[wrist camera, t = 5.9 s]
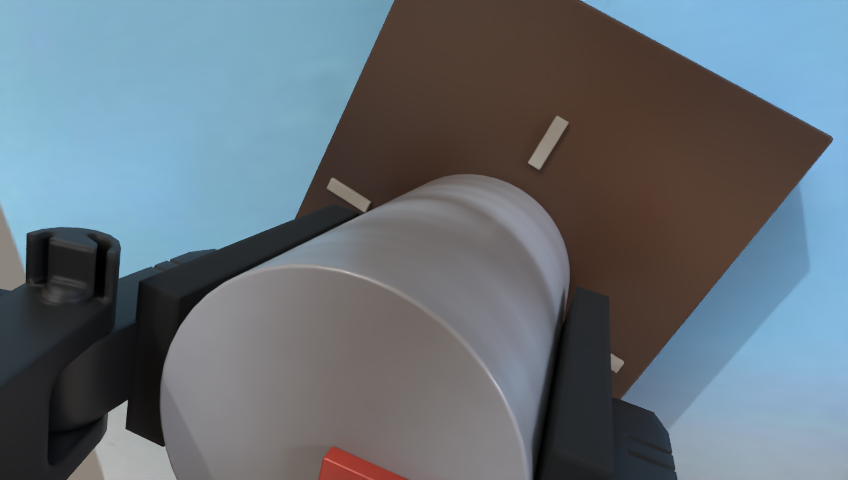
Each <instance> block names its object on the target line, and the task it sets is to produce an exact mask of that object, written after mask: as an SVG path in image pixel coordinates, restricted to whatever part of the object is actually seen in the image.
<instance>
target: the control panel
mask: <svg viewBox="0 0 848 480" xmlns="http://www.w3.org/2000/svg"><path fill="white" fill-rule="evenodd" d="M832 141H833V138H832V137H831V136H830V135H828V134H826V133H824V132H823V131H821V130H819V129H817V128H815V127H813V126H811V125H810V124H808V123H806V122H804V121H802V120H800V119H799V118H797V117H795V116H793V115H791V114H789V113H787V112H786V111H784V110H782V109H780V108H778V107H776V106H775V105H773V104H771V103H769V102H767V101H765V100H763V99H762V98H760V97H758V96H756V95H754V94H752V93H751V92H749V91H747V90H745V89H743V88H741V87H739V86H738V85H736V84H734V83H732V82H730V81H728V80H727V79H725V78H723V77H721V76H719V75H717V74H715V73H714V72H712V71H710V70H708V69H706V68H704V67H703V66H701V65H699V64H697V63H695V62H693V61H692V60H690V59H688V58H686V57H684V56H682V55H680V54H679V53H677V52H675V51H673V50H671V49H669V48H668V47H666V46H664V45H662V44H660V43H658V42H656V41H655V40H653V39H651V38H649V37H647V36H645V35H644V34H642V33H640V32H638V31H636V30H634V29H632V28H631V27H629V26H627V25H625V24H623V23H621V22H620V21H618V20H616V19H614V18H612V17H610V16H608V15H607V14H605V13H603V12H601V11H599V10H597V9H596V8H594V7H592V6H590V5H588V4H586V3H584V2H583V1H581V0H394V2H393V5H392V7H391V9H390V11H389V13H388V16H387V18H386V20H385V22H384V24H383V27H382V29H381V31H380V33H379V35H378V38H377V40H376V42H375V44H374V46H373V48H372V51H371V53H370V55H369V57H368V59H367V62H366V64H365V66H364V68H363V70H362V73H361V75H360V77H359V79H358V81H357V84H356V86H355V88H354V90H353V92H352V95H351V97H350V99H349V101H348V103H347V106H346V108H345V110H344V112H343V114H342V116H341V119H340V121H339V123H338V125H337V127H336V130H335V132H334V134H333V136H332V138H331V141H330V143H329V145H328V147H327V149H326V152H325V154H324V156H323V158H322V160H321V163H320V165H319V167H318V169H317V171H316V174H315V176H314V178H313V180H312V182H311V184H310V187H309V189H308V191H307V193H306V195H305V198H304V200H303V202H302V204H301V206H300V209H299V211H298V213H297V215H296V217H295V219H297V218H299V217H302V216H304V215H307V214H309V213H312V212H314V211H317V210H319V209H322V208H324V207H327V206H329V205H332V204H335V205H338V206H341V207H344V208H347V209H350V210H353V211H356V212H359V213H360V214H359V216H361V215H363V214H365V213H367V212H369V211H371V210H373V209H375V208H377V207H379V206H381V205H383V204H385V203H387V202H389V201H391V200H393V199H395V198H397V197H399V196H401V195H403V194H405V193H408V192H410V191H412V190H414V189H416V188H418V187H420V186H422V185H424V184H426V183H428V182H430V181H432V180H435V179H439V178H442V177H445V176H451V175H457V174H475V175H484V176H488V177H493V178H497V179H499V180H502V181H505V182H507V183H510V184H512V185H513V186H515V187H517V188H519V189H521V190H522V191H524V192H525V193H527V194H528V195H529V196H531V197H532V198H533V199H534V200H535V201H536V202H538V203H539V204H540V205H541V206H542V207H543V208H544V210H545V211H546V212H547V213H548V214H549V216H550V217H551V218H552V220H553V221H554V223H555V225H556V226H557V228H558V230H559V232H560V234H561V236H562V238H563V241H564V244H565V247H566V250H567V254H568V260H569V266H570V282H569V290H568V296H567V302H566V307H565V313H564V319H563V323H564V320H565V317H566V315H567V312H568V309H569V306H570V304H571V301H572V298H573V295H574V293H575V290H576V287H577V286H578V287H581V288H584V289H587V290H590V291H593V292H596V293H599V294H602V295H605V296H608V297H609V311H610V346H611V380H612V397H614V398H617V399H619V400H621V398H622V397H623V396H624V395H625V393H626V392H627V391H628V390H629V389H630V387H631V386H632V385H633V384H634V382H635V381H636V380H637V379H638V378H639V376H640V375H641V374H642V373H643V372H644V370H645V369H646V368H647V367H648V365H649V364H650V363H651V362H652V361H653V359H654V358H655V357H656V356H657V354H658V353H659V352H660V351H661V350H662V348H663V347H664V346H665V345H666V343H667V342H668V341H669V340H670V339H671V337H672V336H673V335H674V334H675V333H676V331H677V330H678V329H679V328H680V326H681V325H682V324H683V323H684V322H685V320H686V319H687V318H688V317H689V315H690V314H691V313H692V312H693V311H694V309H695V308H696V307H697V306H698V305H699V303H700V302H701V301H702V300H703V298H704V297H705V296H706V295H707V294H708V292H709V291H710V290H711V289H712V287H713V286H714V285H715V284H716V283H717V281H718V280H719V279H720V278H721V276H722V275H723V274H724V273H725V272H726V270H727V269H728V268H729V267H730V266H731V264H732V263H733V262H734V261H735V259H736V258H737V257H738V256H739V255H740V253H741V252H742V251H743V250H744V248H745V247H746V246H747V245H748V244H749V242H750V241H751V240H752V239H753V237H754V236H755V235H756V234H757V233H758V231H759V230H760V229H761V228H762V227H763V225H764V224H765V223H766V222H767V220H768V219H769V218H770V217H771V216H772V214H773V213H774V212H775V211H776V209H777V208H778V207H779V206H780V205H781V203H782V202H783V201H784V200H785V199H786V197H787V196H788V195H789V194H790V192H791V191H792V190H793V189H794V188H795V186H796V185H797V184H798V183H799V181H800V180H801V179H802V178H803V177H804V175H805V174H806V173H807V172H808V170H809V169H810V168H811V167H812V166H813V164H814V163H815V162H816V161H817V160H818V158H819V157H820V156H821V155H822V153H823V152H824V151H825V150H826V149H827V147H828V146H829V145H830V144H831V142H832ZM562 326H563V324H562Z"/></svg>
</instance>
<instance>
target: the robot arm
mask: <svg viewBox="0 0 848 480" xmlns="http://www.w3.org/2000/svg"><path fill="white" fill-rule="evenodd" d="M359 214H360V213H359V212H356V211H353V210H350V209H347V208H344V207H341V206H338V205H335V204H332V205H329V206H327V207H324V208H322V209H319V210H317V211H314V212H312V213H309V214H307V215H304V216H302V217H299V218H297V219H294V220H292V221H289V222H286V223H284V224H281V225H279V226H276V227H274V228H271V229H269V230H266V231H264V232H261V233H259V234H256V235H254V236H251V237H249V238H246V239H244V240H241V241H239V242H236V243H234V244H231V245H229V246H226V247H224V248H221V249H219V250H215V249H210V250H202V251H195V252H189V253H186V254H183V255H181V256H178V257H175V258H173V259H171V260H170V262H169V261H165V262H162V263H159V264H157V265H155V267H154V268H153V267H149V268H146V269H143V270H141V271H138V272H135V273H133V274H130V275H128V276H125V277H122V278H120V279H118V277H119V265H120V252H121V247H120V243H119V241H118V240H117V239H115V238H114V237H112V236H111V235H108V234H105V233H102V232H99V231H96V230H90V229H83V228H68V227H58V228H48V229H40V230H37V231H33V232H30V233H27V245H26V283H25V284H23V285H21V286H19V287H18V288H16V289H14V290H12V291H8V290H3V289H0V480H67V479H68V477H69V476H70V475H71V474H72V473H73V472H74V471H75V469H76V468H77V467H78V466H79V465H80V464H81V463H82V461H83V460H84V459H85V458H86V457H87V456H88V454H89V453H90V452H91V451H92V450H93V449H94V448H95V446H96V445H97V444H98V443H99V442H100V441H101V439H102V438H103V436H104V434H105V432H106V430H107V420H108V412H109V411H111V410H112V409H114V408H116V407H117V406H119V405H120V404H122V403H123V402H125V401H127V400H128V407H127V418H126V429H127V430H129V431H131V432H133V433H135V434H137V435H139V436H141V437H143V438H146V439H148V440H150V441H152V442H154V443H156V444H158V445H160V446H162V447H164V446H165V442H164V437H163V432H162V427H161V416H160V384H161V378H162V373H163V367H164V363H165V360H166V357H167V354H168V351H169V348H170V345H171V343H172V341H173V339H174V337H175V335H176V333H177V331H178V329H179V327H180V325H181V324H182V323H183V321H184V320H185V318H186V317H187V316H188V314H189V313H190V312H191V310H192V309H193V308H194V307H195V306H196V305H197V304H198V303H199V302H200V301H201V300H202V299H203V298H204V297H205V296H206V295H207V294H208V293H210V292H211V291H213V290H214V289H215V288H217V287H218V286H220V285H221V284H223V283H224V282H226V281H228V280H230V279H232V278H234V277H236V276H238V275H240V274H242V273H244V272H246V271H248V270H250V269H252V268H254V267H256V266H258V265H261V264H263V263H265V262H267V261H269V260H271V259H273V258H275V257H277V256H279V255H281V254H283V253H285V252H287V251H289V250H291V249H293V248H295V247H297V246H299V245H301V244H303V243H305V242H307V241H310V240H312V239H314V238H316V237H318V236H320V235H322V234H324V233H326V232H328V231H330V230H332V229H334V228H336V227H338V226H340V225H342V224H344V223H346V222H348V221H350V220H352V219H354V218H356V217H359ZM671 454H672V449H671V444H670V439H669V433H668V432H667V430H666V429H665V428H664V426H663V425H662V423H661V422H660V421H659V419H658V418H657V416H656V415H655V414H654V412H651V411H649V410H646V409H643V408H641V407H638V406H635V405H633V404H630V403H627V402H625V401H622V400H619V399H617V398H614V397H612V380H611V346H610V311H609V297H608V296H605V295H602V294H599V293H596V292H593V291H590V290H587V289H584V288H581V287H578V286H577V287H576V290H575V293H574V295H573V298H572V301H571V304H570V306H569V309H568V312H567V315H566V317H565V320H564V323H563V326H562V330H561V335H560V341H559V346H558V352H557V358H556V363H555V369H554V374H553V380H552V385H551V391H550V396H549V402H548V408H547V413H546V419H545V424H544V430H543V435H542V441H541V447H540V452H539V458H538V463H537V469H536V474H535V480H677V475H676V472H674V470H675V464H674V459H673V456H672V455H671Z"/></svg>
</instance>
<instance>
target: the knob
mask: <svg viewBox="0 0 848 480" xmlns="http://www.w3.org/2000/svg"><path fill="white" fill-rule="evenodd" d="M569 282H570V266H569V260H568V254H567V250H566V247H565V244H564V241H563V238H562V236H561V234H560V232H559V230H558V228H557V226H556V225H555V223H554V221H553V220H552V218H551V217H550V216H549V214H548V213H547V212H546V211H545V210H544V208H543V207H542V206H541V205H540V204H539V203H538V202H536V201H535V200H534V199H533V198H532V197H531V196H529V195H528V194H527V193H525V192H524V191H522V190H521V189H519V188H517V187H515V186H513V185H512V184H510V183H507V182H505V181H502V180H499V179H497V178H493V177H488V176H484V175H475V174H457V175H451V176H445V177H442V178H439V179H435V180H432V181H430V182H428V183H426V184H424V185H422V186H420V187H418V188H416V189H414V190H412V191H410V192H408V193H405V194H403V195H401V196H399V197H397V198H395V199H393V200H391V201H389V202H387V203H385V204H383V205H381V206H379V207H377V208H375V209H373V210H371V211H369V212H367V213H365V214H363V215H361V216H359V217H356V218H354V219H352V220H350V221H348V222H346V223H344V224H342V225H340V226H338V227H336V228H334V229H332V230H330V231H328V232H326V233H324V234H322V235H320V236H318V237H316V238H314V239H312V240H310V241H307V242H305V243H303V244H301V245H299V246H297V247H295V248H293V249H291V250H289V251H287V252H285V253H283V254H281V255H279V256H277V257H275V258H273V259H271V260H269V261H267V262H265V263H263V264H261V265H258V266H256V267H254V268H252V269H250V270H248V271H246V272H244V273H242V274H240V275H238V276H236V277H234V278H232V279H230V280H228V281H226V282H224V283H223V284H221V285H220V286H218V287H217V288H215V289H214V290H213V291H211V292H210V293H208V294H207V295H206V296H205V297H204V298H203V299H202V300H201V301H200V302H199V303H198V304H197V305H196V306H195V307H194V308H193V309H192V310H191V312H190V313H189V314H188V316H187V317H186V318H185V320H184V321H183V323H182V324H181V325H180V327H179V329H178V331H177V333H176V335H175V337H174V339H173V341H172V343H171V345H170V348H169V351H168V354H167V357H166V360H165V363H164V367H163V373H162V378H161V384H160V416H161V427H162V432H163V437H164V442H165V447H166V450H167V453H168V457H169V460H170V463H171V466H172V469H173V471H174V474H175V476H176V478H177V480H535V474H536V469H537V463H538V458H539V452H540V447H541V441H542V435H543V430H544V424H545V419H546V413H547V408H548V402H549V396H550V391H551V385H552V380H553V374H554V369H555V363H556V358H557V352H558V346H559V341H560V335H561V330H562V324H563V319H564V313H565V307H566V302H567V296H568V290H569Z"/></svg>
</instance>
